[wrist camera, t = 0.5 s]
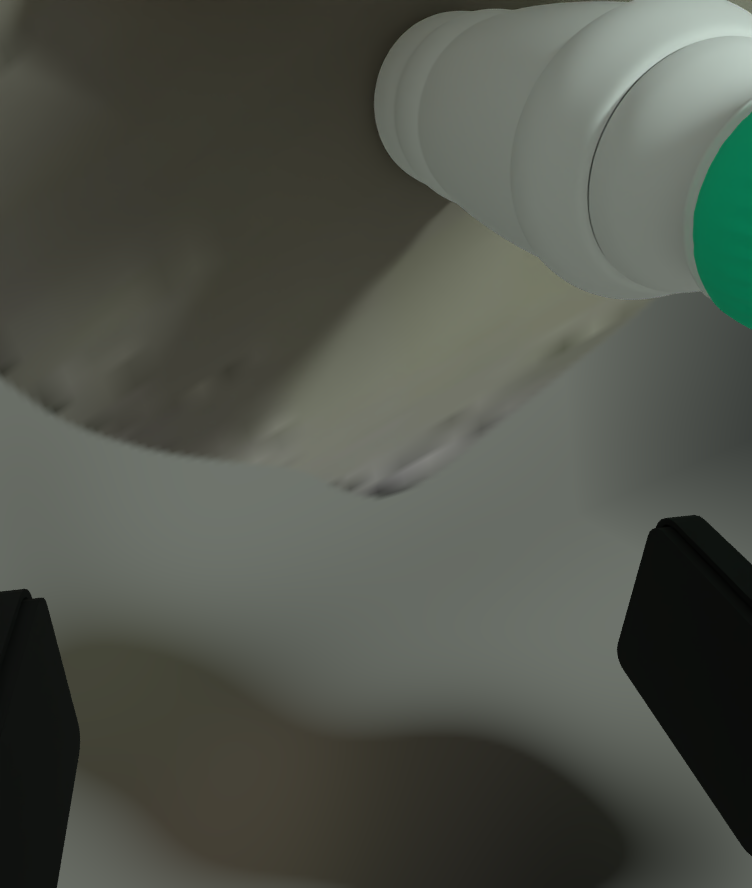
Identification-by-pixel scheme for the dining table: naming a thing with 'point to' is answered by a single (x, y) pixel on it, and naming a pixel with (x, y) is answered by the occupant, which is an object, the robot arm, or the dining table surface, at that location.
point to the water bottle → (589, 137)
